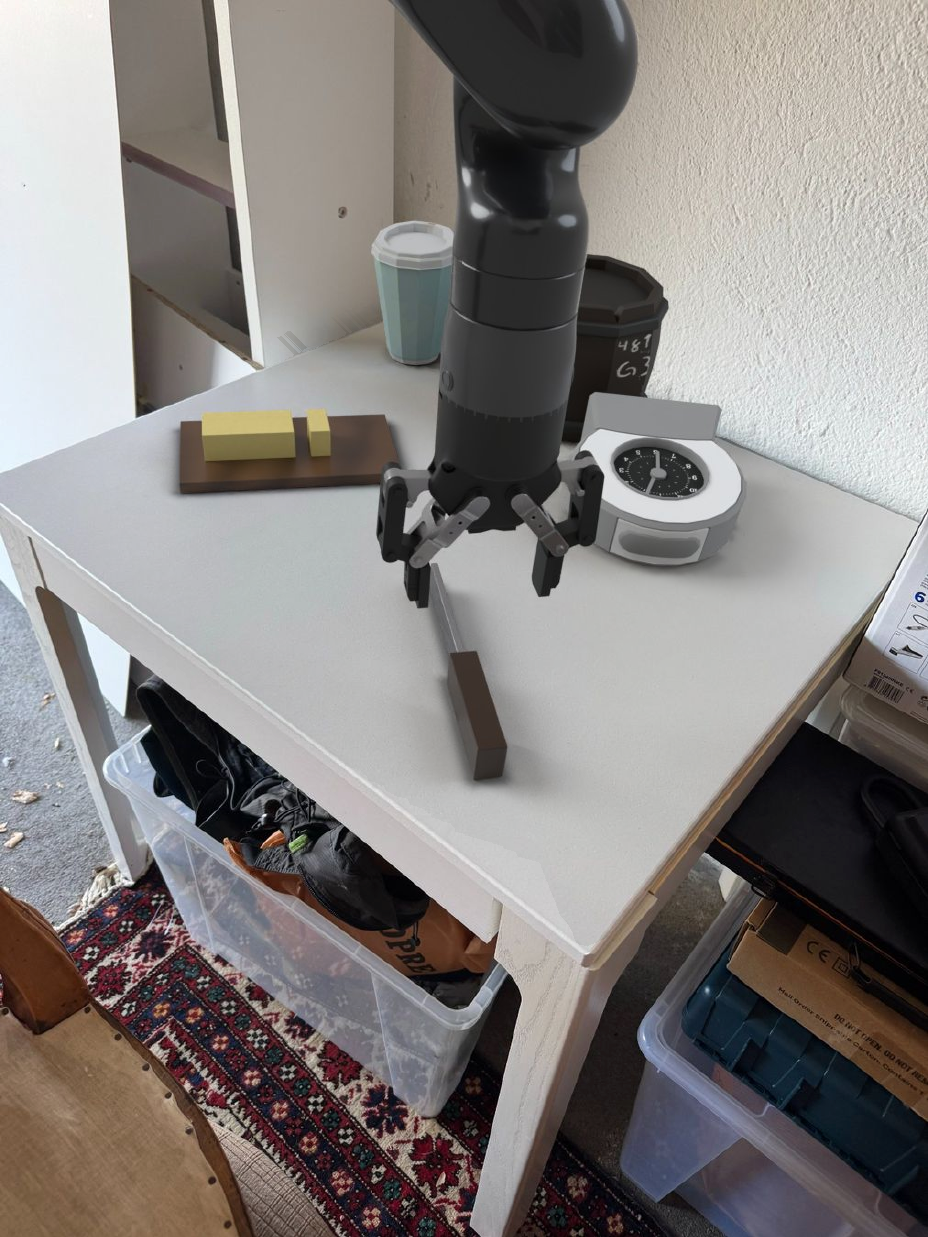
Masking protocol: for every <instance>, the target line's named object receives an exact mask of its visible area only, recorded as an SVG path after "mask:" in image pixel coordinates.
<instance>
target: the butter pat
mask: <svg viewBox="0 0 928 1237" xmlns="http://www.w3.org/2000/svg"><path fill="white" fill-rule="evenodd" d="M327 416H328V412H327V409H326V408H314V409H313V408H312V409H306V417H307V435H308V441H309V447H310V453H311V457H315V456H330V455H331V454H330V428H329V423H328V418H327Z"/></svg>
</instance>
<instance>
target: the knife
mask: <svg viewBox="0 0 928 1237" xmlns="http://www.w3.org/2000/svg"><path fill="white" fill-rule="evenodd" d="M430 567H431V573H430V588H429V593H430V595H431V598H432V599H431V600H432V603H433V606H434V609H435V612H436V616H437V620H438V623H439V626H440V631H441V633H442V637H443V640H444V644H445V647H446V651H447V655H448V665H447V666H448V667H447V674H446V675H447V677H446V685H447V689H448V693H449V697H450V700H451V704H452V708H453V712H454V715H455V718H456V722H457V726H458V730H459V733H460V737H461V740H462V743H463V744H462V745H463V747H464V751H465V754H466V759H467V762H468V765H469V768H470V772H471V776H472V779H473V781H480V780H488V779H496V778H503V776H504V769H505V764H506V759H507V758H506V757H507V752H508V743H507V741H506V738H505V734H504V731H503V729H502V724H501V723H500V722H501V721H500V720H499V715H498V712H497V710H496V707H495V704H494V700H493V698H492V697H493V696H492V695H491V691H490V688H489V684H488V681H487V678H486V675H485V673H484V669H483V666H482V662H481V659H480V657H479V653H478V651H477V650H465V649H464V645H463V643H462V639H461V636H460V633H459V629H458V625H457V623H456V619H455V615H454V614H453V610H452V606H451V602H450V600H449V597H448V594H447V590H446V587H445V583H444V580H443V577H442V574H441V571H440V570H441V569H440V567H439V564H438V562H431V563H430Z"/></svg>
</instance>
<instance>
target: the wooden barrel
mask: <svg viewBox="0 0 928 1237" xmlns="http://www.w3.org/2000/svg"><path fill="white" fill-rule="evenodd" d="M669 309H670V306H669V300H668V299H667V298H666V297H665V295H664V286H663V285H662V284H661V283H660V282H659V281H658V280H657V279H655V277H654V276H653V275H652V274H651V273H650V272H648V271H647V269H645V268H644V267H641V266H638V265H635V264H633V263H629V262H626V261H623V260H622V259H618V258H615V257H612V256H610V255H600V254H591V253H587V258H586V263H585V269H584V275H583V281H582V287H581V294H580V300H579V306H578V315H577V327H576V353H575V361H574V379H573V382H572V384H571V386H570V391H569V397H568V403H567V409H566V415H565V422H564V428H563V434H562V440H561V442H569V443H577V444H579V442H580V441H581V437H582V432H583V427H584V422H585V417H586V412H587V407H588V402H589V397H590V395H591V394H593V393H595V392H599V393H608V394H617V395H627V396H636V397H646V398H649V396H648V395H647V393H646V390H647V387H648V384H649V382H650V378H651V376H652V374H653V370H654V366H655V363H656V358H657V353H658V350H659V346H660V342H661V333H662V324H663V320H664V318H665V316H666V314H667V313H668V311H669Z"/></svg>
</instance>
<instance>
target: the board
mask: <svg viewBox="0 0 928 1237" xmlns="http://www.w3.org/2000/svg"><path fill="white" fill-rule="evenodd" d="M327 418H328V423H329V428H330V454H331V455H330V456H315V457H311V453H310V447H309V441H308V435H307V416H297V417H296V416H295V417H293V416H292V420H293V427H294V437H295V457H293V458H270V459H247V460H223V461H205V456H204V447H203V439H202V420H182V421H179V422H180V426H179V428H180V429H179V468H178V469H179V472H178V478H179V479H178V485H179V493H180V494H192V493H193V494H195V493H213V492H214V493H217V492H233V491H234V492H235V491H251V490H252V491H254V490H255V491H257V490H275V489H292V488H293V489H294V488H313V487H314V488H315V487H335V486H336V487H337V486H357V485H374V484H375V485H376V484H381V472H382V467H383V466H384V465H385V464H386V463H388V462H396V463H398V464H399V465H400V466H401V464H400V462H399V458H398V455H397V450H396V447H395V444H394V441H393V438H392V437H393V436H392V434H391V430H390V428H389V424H388V421H387V416H386V414H384V413H381V414H356V415H354V414H353V415H327Z"/></svg>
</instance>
